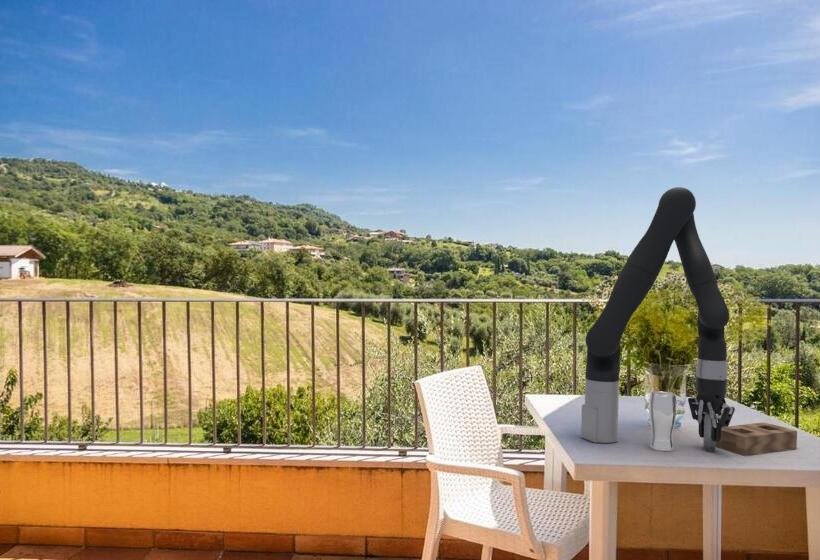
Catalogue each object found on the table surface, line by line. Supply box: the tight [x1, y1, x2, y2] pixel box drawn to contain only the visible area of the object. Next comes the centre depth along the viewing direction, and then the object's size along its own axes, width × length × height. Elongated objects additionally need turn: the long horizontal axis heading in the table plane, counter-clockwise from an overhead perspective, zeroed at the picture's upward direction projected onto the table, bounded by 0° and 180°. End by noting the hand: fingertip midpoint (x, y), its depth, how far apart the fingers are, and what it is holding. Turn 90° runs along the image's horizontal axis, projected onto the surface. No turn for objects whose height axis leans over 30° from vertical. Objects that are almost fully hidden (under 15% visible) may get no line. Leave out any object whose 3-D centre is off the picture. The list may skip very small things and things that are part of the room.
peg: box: [702, 413, 717, 453], centre depth 171 cm, size 3×3×10 cm
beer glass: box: [648, 390, 678, 452], centre depth 172 cm, size 7×7×15 cm
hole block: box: [716, 421, 798, 457], centre depth 175 cm, size 20×10×5 cm, turn 113°
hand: (709, 438), depth 171 cm, fingers open, 3 cm apart
